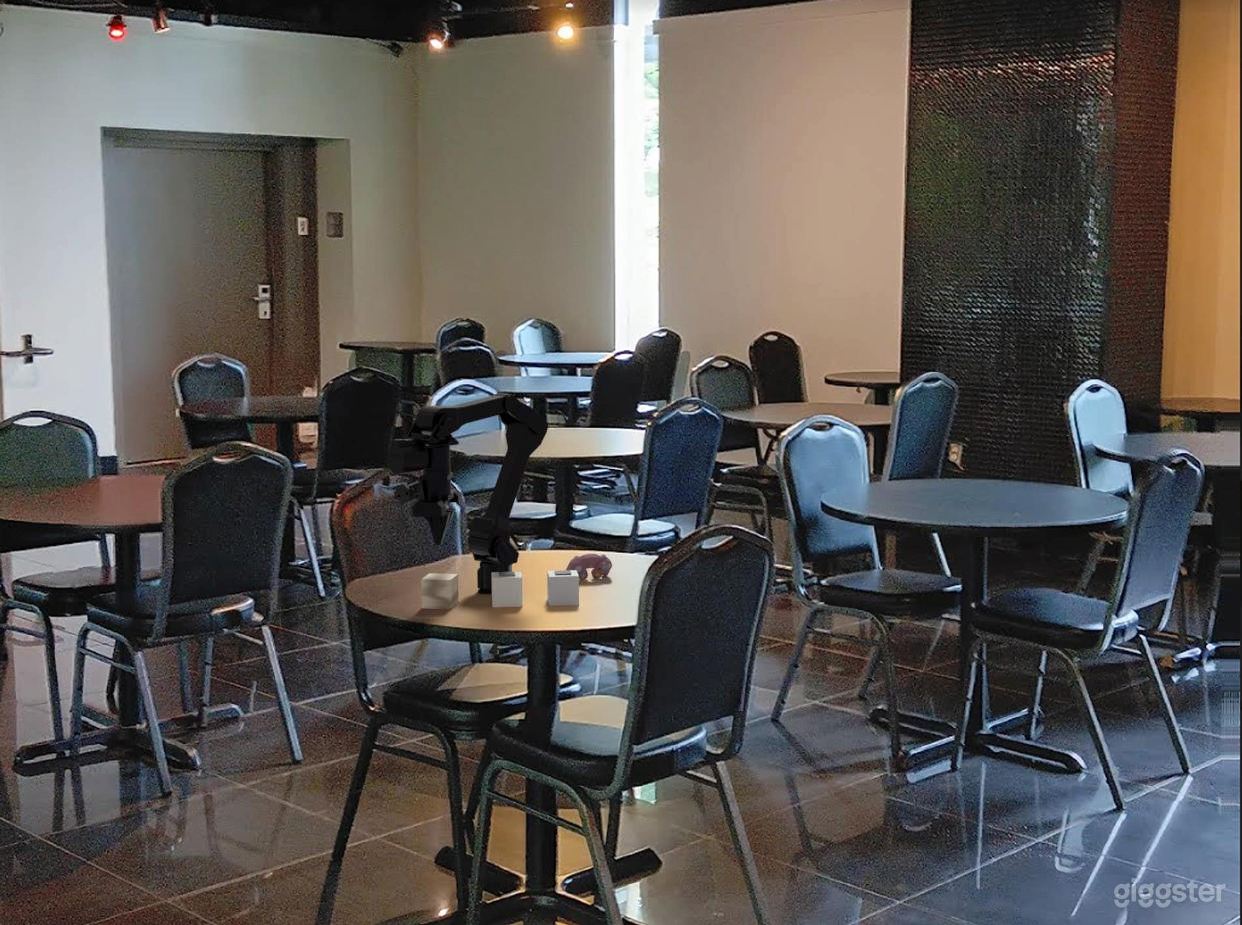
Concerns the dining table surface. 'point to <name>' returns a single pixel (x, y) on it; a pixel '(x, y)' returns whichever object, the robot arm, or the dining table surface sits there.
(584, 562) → the video game controller
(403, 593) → the dining table surface
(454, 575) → the plain ash cube
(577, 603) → the grey numbered cube
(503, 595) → the off-white numbered cube
